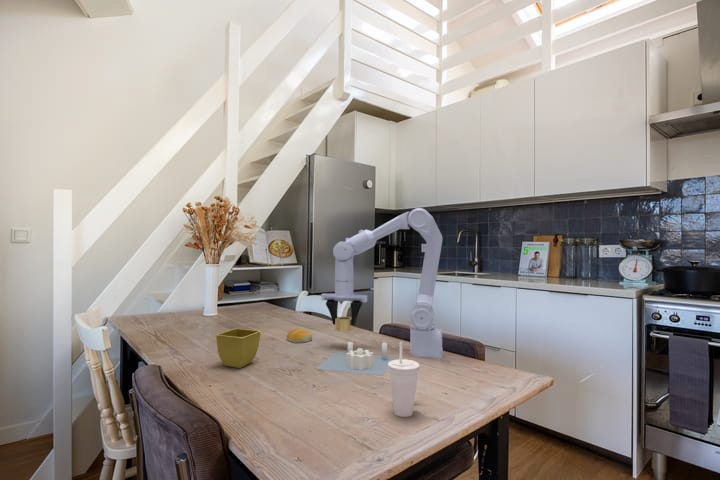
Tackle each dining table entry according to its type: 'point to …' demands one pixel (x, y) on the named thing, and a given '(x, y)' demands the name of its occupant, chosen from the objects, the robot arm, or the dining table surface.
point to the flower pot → (238, 346)
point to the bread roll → (299, 336)
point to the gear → (360, 360)
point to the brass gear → (343, 324)
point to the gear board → (340, 364)
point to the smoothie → (403, 384)
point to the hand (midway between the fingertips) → (344, 324)
